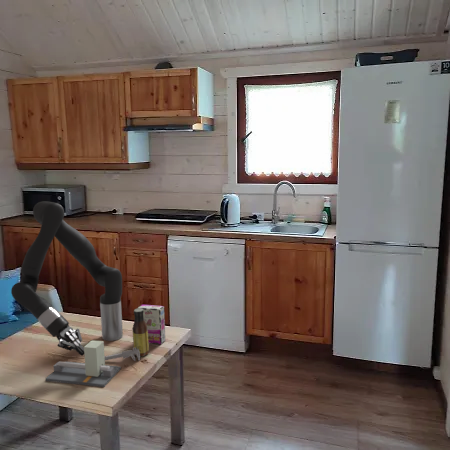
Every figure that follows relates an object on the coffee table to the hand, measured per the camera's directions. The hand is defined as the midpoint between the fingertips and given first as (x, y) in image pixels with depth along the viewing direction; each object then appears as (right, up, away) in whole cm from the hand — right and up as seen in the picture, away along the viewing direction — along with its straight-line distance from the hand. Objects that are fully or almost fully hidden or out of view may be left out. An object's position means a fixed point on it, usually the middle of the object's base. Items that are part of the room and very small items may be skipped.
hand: (84, 353), depth 172 cm
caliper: (+9, -7, +13) cm, 17 cm away
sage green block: (+4, -7, 0) cm, 8 cm away
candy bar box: (+21, -3, +31) cm, 38 cm away
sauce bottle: (+18, -6, +19) cm, 27 cm away
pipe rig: (-1, -9, +2) cm, 9 cm away
